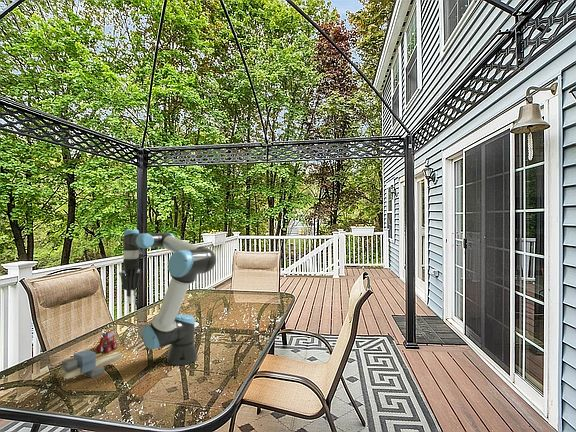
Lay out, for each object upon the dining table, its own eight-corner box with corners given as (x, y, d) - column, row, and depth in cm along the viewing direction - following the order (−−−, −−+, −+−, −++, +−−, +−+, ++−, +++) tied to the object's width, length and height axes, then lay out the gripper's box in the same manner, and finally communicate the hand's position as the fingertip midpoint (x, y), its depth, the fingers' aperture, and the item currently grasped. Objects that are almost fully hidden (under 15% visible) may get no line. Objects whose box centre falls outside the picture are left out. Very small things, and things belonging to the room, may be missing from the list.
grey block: (95, 368, 163) (95, 352, 163) (82, 373, 158) (82, 356, 158) (86, 365, 167) (86, 349, 167) (73, 369, 162) (73, 353, 162)
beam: (123, 366, 175) (123, 345, 175) (68, 386, 153) (69, 363, 153) (115, 363, 179) (115, 343, 179) (60, 383, 157) (60, 360, 157)
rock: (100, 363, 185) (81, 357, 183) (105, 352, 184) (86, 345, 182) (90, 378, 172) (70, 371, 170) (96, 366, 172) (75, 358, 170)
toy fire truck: (93, 354, 191) (93, 335, 191) (108, 346, 203) (108, 328, 203) (104, 355, 190) (105, 335, 190) (119, 347, 202) (119, 329, 202)
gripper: (136, 256, 197) (136, 299, 197) (115, 258, 186) (115, 303, 185) (145, 257, 194) (145, 300, 193) (125, 259, 182) (124, 305, 182)
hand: (130, 302), depth 189 cm, fingers closed
